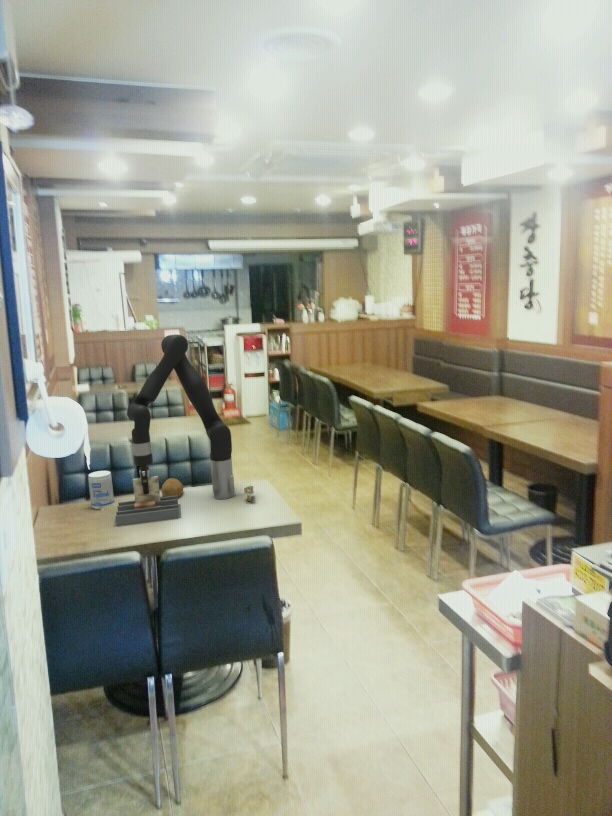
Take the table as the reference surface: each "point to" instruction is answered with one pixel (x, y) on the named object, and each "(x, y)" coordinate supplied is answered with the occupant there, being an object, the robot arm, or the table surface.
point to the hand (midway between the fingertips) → (146, 490)
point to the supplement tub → (100, 489)
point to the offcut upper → (144, 505)
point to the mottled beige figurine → (246, 492)
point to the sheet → (153, 490)
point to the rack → (148, 512)
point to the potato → (172, 488)
